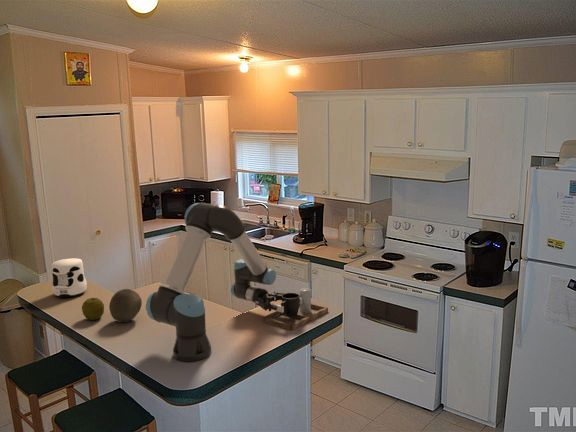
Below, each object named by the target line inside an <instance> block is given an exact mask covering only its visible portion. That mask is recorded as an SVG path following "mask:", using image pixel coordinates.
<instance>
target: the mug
mask: <svg viewBox="0 0 576 432" xmlns="http://www.w3.org/2000/svg"><path fill="white" fill-rule="evenodd" d="M284 293H285V294H283V295H282V300H281V302H280V306H284V312H283V313H284V314H285V315H284V314H283V315H284V316H285V317H287V318H290V319H291V318H294V317H296V316H297V314H298V312H299V311H300V307H299V305H300V295H299V293H296V292H284Z"/></svg>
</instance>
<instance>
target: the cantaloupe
mask: <svg viewBox="0 0 576 432" xmlns="http://www.w3.org/2000/svg"><path fill="white" fill-rule="evenodd" d="M142 302H143V301H142V298H141V295H140V294H139V293H137V292H136V291H135V290H133V289H129V288H123V289H120V290H118V291H117V292H116V293H114V294H113V295H112V297H111V299H110V301H109V306H108V307H109V308H108V309H109V312H110V316H111V317H112V318H113V320H115V321H117V322H119V323H127V322H129V321H132V320H134V318H136V317H137V315H138V314H139V312H140V311H141V309H142V308H141V307H142V304H143V303H142Z"/></svg>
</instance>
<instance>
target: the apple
mask: <svg viewBox="0 0 576 432" xmlns="http://www.w3.org/2000/svg"><path fill="white" fill-rule="evenodd" d="M81 311H82V315H83V316H84V317H85V319H87V320H91V321H96V320H98V319H100V318H101V317H102V316H103V314H104V312H105V304H104V303H103V301H102V300H101V299H99V298H98V297H90V298H86V300H84V302H83V303H82V306H81Z"/></svg>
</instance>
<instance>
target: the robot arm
mask: <svg viewBox="0 0 576 432" xmlns="http://www.w3.org/2000/svg"><path fill="white" fill-rule="evenodd" d="M184 223H185V227H184V228H185V230H186V234H185V236H184V238H183V241H182V243H181V244H180V245H181V246H180V247H179V249H178V253H177V254H176V256H175V260H174V262H172V263H173V264H172V266H171V268H170V271H169V273H168V276H167V278H166V279H165V282H164V283H162V284H160V285H159V286H158V287H159V288H158V289H157V291H153V292H152V293H150V294H149V296H147V299H146V304H145V309H146V314H147V315H148V317H149V319H151V320H154V321H155V322H156V323H163V324H166V325H168V326H172V327H175V333H176V334H175V335H176V337H175V342H174V345H173V349H172V356H173V358H174V359H175V360H177V361H180V362H186V363H191V362H192V363H193V362H198V361H202V360H204V359H206V358H208V357H209V356H210V355H211V354H212V345H211V342H210V340H209V337H208V335H207V329H206V328H207V327H206V326H207V325H206V308H205V307H206V306H205V301H204V300H203V298H202V297H201V296H199V295H197V294H195V293H194V294H193V293H189V294H188V293H185V290H186V288H187V285H188V283H189V281H190V279H191V276H192V273H193V271H194V269H195V266H196V264H197V262H198V261H197V260H198V259H199V256H200V254H201V252H202V249H203V246H204V244H205V241H206V240H208V239H210V238H211V237H212V234H213V232H216V233H220V234H221V235H223V236H224V237H225V239H226V240H228V241H230V242H231V243H232V245H233V246H234V248H235V250H236V251H237V253H238V254H239V256H240V258H241V259H240V258H239V259H237V260H235V261H234V263H233V267H234V268H233V272H234V282H233V283H232V285H231V288H230V295H232V296H233V297H235V298H237V299H241V300H243V301H247V302H250V303H253V304H255V305H256V306H259V307H260V308H261V309H262V310H264V311H265V312H266V311H268V312H272V310H273V311H274V312H276V311H279V312H282V313H283V312H284V306H281V304H276V303H274V302H277V301H282V295H283V294H285V293H286V292H284V291H283V292H281V291H280V292H279V291H275V290H274V291H273V293H271V292H269V291H268V290H267V289H265V288H262V287H258V286H254V285H251V282H252V283H257V284H262V285H267V286H272V285H273V284H274V283H275V281H276V279H277V273H276V271H275V270H274V269H272V268H268V267H267V265H266V263H265V262H264V260H263V258H262V256H261V254H260V253H259V251H258V250H257V249H256V246H255V245H254V243H253V241H252V240H251V239H250V237H249V235H248V234H247V232H246V226H245V224H244V223H243V221H242V219H241V218H240V217H239V216H238V214H236V213H235V212H234V211H233V210H232V209H231V208H229V207H228V206H227V205H226V206H225V205H222V204H213V203H212V204H211V203H206V202H196V203H193V204H191V205H190V206H188V207H187V208H186V210H185V214H184ZM272 302H273V303H272ZM300 304H302V299H301V298H300Z"/></svg>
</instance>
